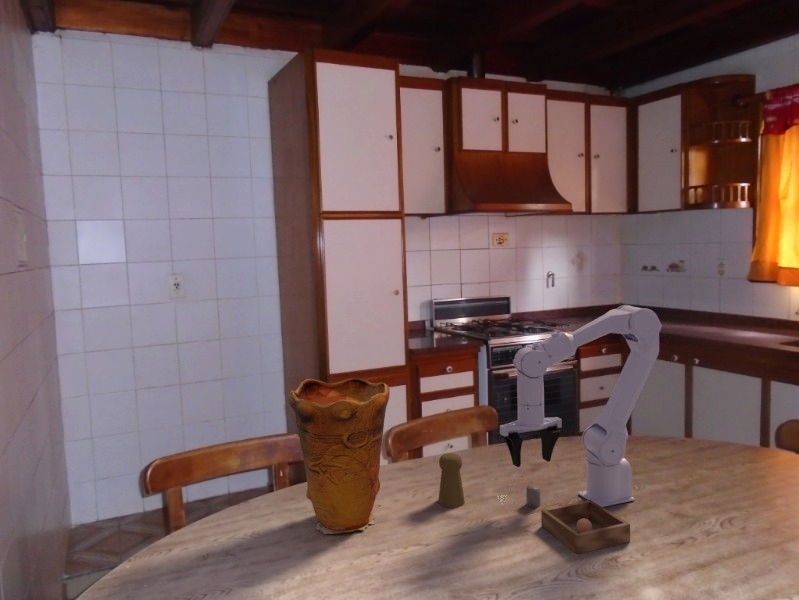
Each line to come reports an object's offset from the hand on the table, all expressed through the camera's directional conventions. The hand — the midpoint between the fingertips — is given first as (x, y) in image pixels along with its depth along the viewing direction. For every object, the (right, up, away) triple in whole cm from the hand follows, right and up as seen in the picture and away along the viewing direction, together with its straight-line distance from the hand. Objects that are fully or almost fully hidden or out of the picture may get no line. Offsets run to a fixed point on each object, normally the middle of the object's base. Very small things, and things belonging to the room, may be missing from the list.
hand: (531, 462), depth 132 cm
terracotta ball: (+7, -10, -14) cm, 19 cm away
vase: (-41, -12, -6) cm, 43 cm away
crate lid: (0, -10, 0) cm, 10 cm away
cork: (-17, -10, +3) cm, 20 cm away
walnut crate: (+7, -10, -14) cm, 19 cm away
